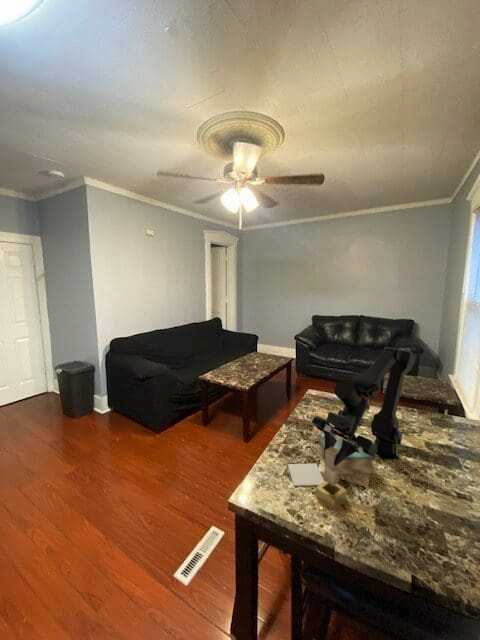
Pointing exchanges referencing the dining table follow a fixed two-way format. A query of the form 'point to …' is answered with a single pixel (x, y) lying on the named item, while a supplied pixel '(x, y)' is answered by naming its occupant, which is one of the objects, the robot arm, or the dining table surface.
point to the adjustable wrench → (321, 435)
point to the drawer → (351, 460)
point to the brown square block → (331, 466)
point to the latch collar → (328, 498)
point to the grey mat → (305, 474)
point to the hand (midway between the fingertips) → (329, 461)
